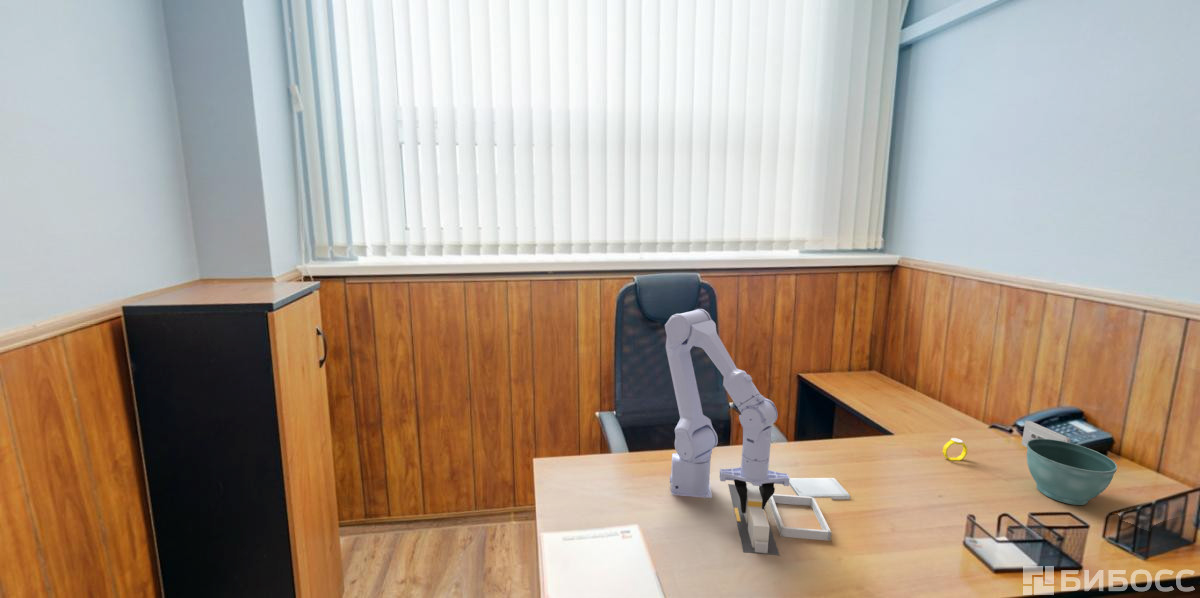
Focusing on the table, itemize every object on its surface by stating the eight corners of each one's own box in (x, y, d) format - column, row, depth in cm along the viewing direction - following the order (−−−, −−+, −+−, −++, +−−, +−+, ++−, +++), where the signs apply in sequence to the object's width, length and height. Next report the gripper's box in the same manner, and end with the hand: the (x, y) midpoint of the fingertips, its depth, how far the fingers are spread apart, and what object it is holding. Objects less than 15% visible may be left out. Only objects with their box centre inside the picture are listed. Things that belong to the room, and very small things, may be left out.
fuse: (752, 547, 105) (754, 525, 104) (747, 529, 111) (749, 508, 110) (767, 549, 105) (769, 526, 104) (762, 530, 110) (763, 509, 109)
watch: (959, 458, 144) (964, 438, 143) (967, 463, 142) (971, 443, 140) (938, 456, 144) (943, 436, 143) (945, 461, 141) (950, 441, 140)
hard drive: (799, 496, 123) (850, 494, 123) (785, 477, 131) (833, 476, 131) (798, 502, 123) (849, 501, 124) (784, 483, 131) (833, 482, 132)
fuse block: (743, 554, 104) (744, 543, 103) (728, 486, 128) (728, 476, 128) (779, 557, 103) (780, 546, 102) (757, 488, 127) (757, 478, 127)
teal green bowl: (1090, 486, 130) (1099, 446, 128) (1121, 522, 116) (1131, 477, 114) (1011, 471, 137) (1018, 433, 135) (1031, 503, 122) (1039, 461, 120)
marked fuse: (746, 523, 113) (748, 498, 111) (742, 507, 119) (743, 483, 117) (760, 524, 112) (762, 499, 111) (755, 508, 118) (757, 484, 117)
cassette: (1019, 444, 152) (1023, 420, 151) (1025, 444, 152) (1029, 419, 151) (1061, 465, 141) (1066, 438, 139) (1067, 464, 141) (1072, 438, 139)
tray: (780, 538, 109) (781, 528, 108) (768, 503, 121) (769, 493, 121) (830, 543, 108) (831, 532, 107) (812, 506, 120) (813, 496, 120)
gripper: (723, 461, 110) (720, 519, 112) (794, 466, 108) (789, 525, 110) (720, 446, 116) (716, 500, 119) (786, 450, 115) (782, 505, 117)
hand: (751, 511), depth 115 cm, fingers closed on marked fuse, 3 cm apart
